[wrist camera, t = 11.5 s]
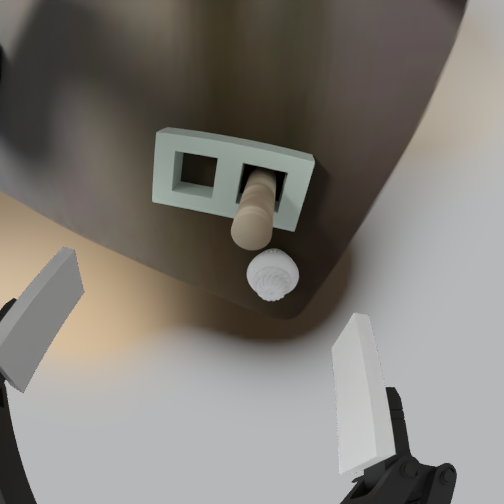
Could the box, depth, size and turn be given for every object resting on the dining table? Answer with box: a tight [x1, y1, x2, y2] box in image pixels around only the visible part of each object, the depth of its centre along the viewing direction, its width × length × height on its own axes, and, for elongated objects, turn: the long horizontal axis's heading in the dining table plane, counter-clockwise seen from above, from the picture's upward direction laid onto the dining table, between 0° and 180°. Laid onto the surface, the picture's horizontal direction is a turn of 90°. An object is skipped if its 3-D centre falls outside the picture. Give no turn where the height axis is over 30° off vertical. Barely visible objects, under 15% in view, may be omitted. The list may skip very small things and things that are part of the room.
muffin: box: [247, 248, 299, 301], centre depth 34 cm, size 6×6×7 cm
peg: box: [231, 166, 277, 250], centre depth 26 cm, size 3×3×12 cm
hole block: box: [152, 127, 315, 232], centre depth 30 cm, size 16×8×3 cm, turn 79°
